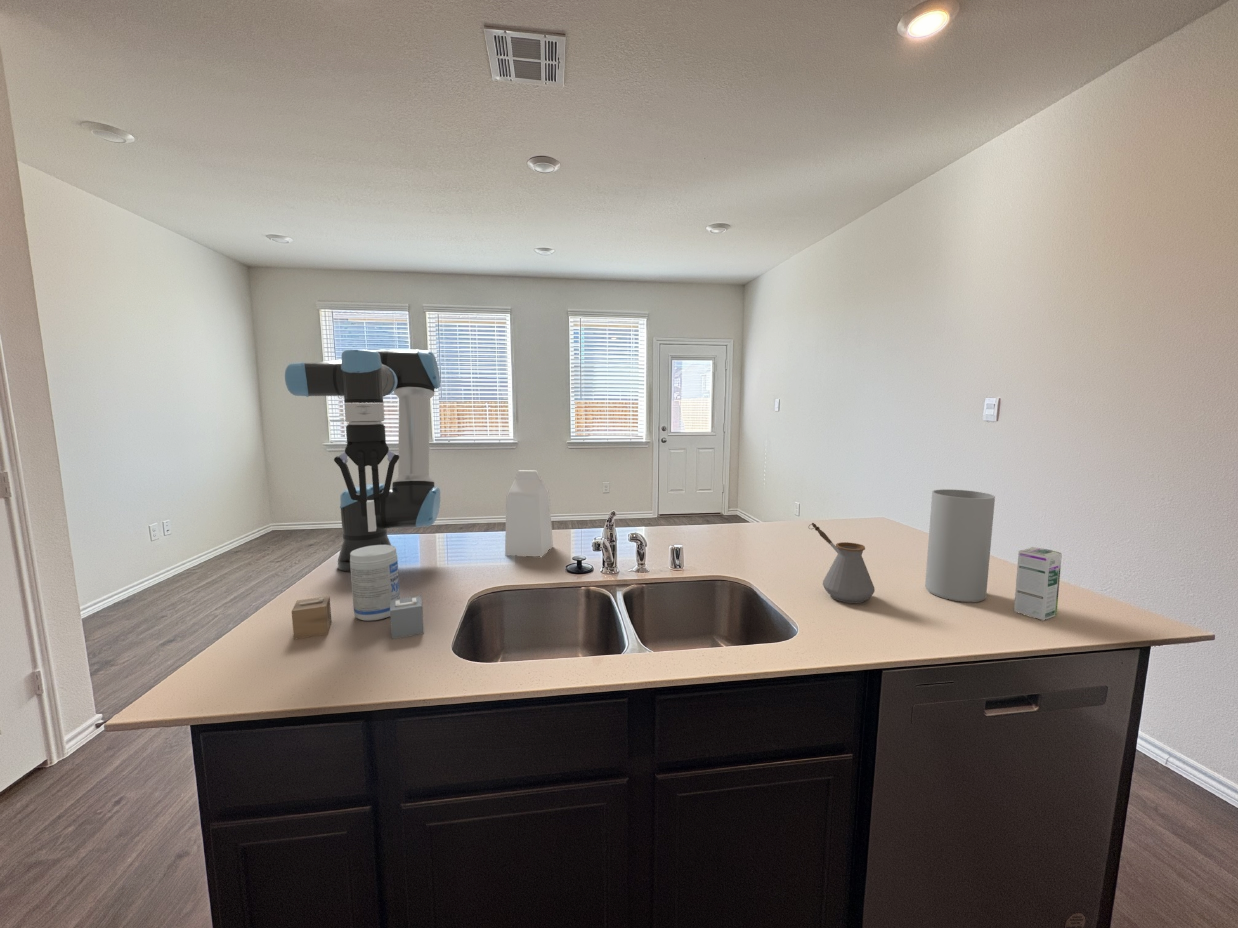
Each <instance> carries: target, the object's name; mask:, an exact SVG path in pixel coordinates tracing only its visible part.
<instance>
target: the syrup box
mask: <svg viewBox="0 0 1238 928" xmlns="http://www.w3.org/2000/svg"><path fill="white" fill-rule="evenodd" d="M1062 554H1063V553H1061V552H1059V551H1057V550H1056V551H1055V550H1052V549H1047V548H1042V547H1035V546H1031V547H1030V548H1029V547H1028V548H1025V549H1020V550H1018V556H1017V569H1016V570H1017V571H1016V578H1015V579H1016V580H1015V593H1014V596H1015V597H1014V607H1013V609H1014V610H1013V611H1014V612H1015V611H1016V612H1015V613H1017V612H1019V613H1018V614H1020V613H1022V614H1025V615H1029V616H1031V617H1030V618H1032V617H1035V618H1038V619H1042V620H1045V619H1046V620H1048V619H1049V620H1050V619H1051V618H1054V617H1056V616H1057V615H1058V603H1059V592H1060V589H1059V588H1060V579H1061V568H1062V566H1061V565H1062ZM1022 614H1021V615H1022ZM1025 615H1024V616H1025ZM1035 618H1034V619H1035ZM1038 619H1037V620H1038ZM1042 620H1041V621H1042ZM1046 620H1045V621H1046Z"/></svg>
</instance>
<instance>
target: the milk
mask: <svg viewBox="0 0 1238 928" xmlns="http://www.w3.org/2000/svg"><path fill="white" fill-rule="evenodd" d="M548 489H549V488H548V487H547V486H546V484H545V483H544V481H543V480H542V479H541V476H540V473H539V471H538V470H536V469H535V470H532V469H531V470H529V469H528V470H525V469H524V470H523V469H519V470H517V472H516V475H515V477H514V480H513V482H512V484H511V486H510V488H509V489H508V492H507V495H506V499H505V500H506V501H505V539H504V540H505V544H504V545H505V547H504V556H506V555H517V556H516V557H526V556H543V555H544V554H545V553H546V552H547V551H548V550H549V549H550V550H552V549H553V547H554V544H553V542H554V541H553V528H552V527H553V526H552V514H551V513H552V511H551V502H550V501H551V499H550V492H549V490H548ZM552 546H553V547H552ZM550 550H549V551H550ZM549 551H548V552H549ZM548 552H547V553H548ZM547 553H546V554H547ZM546 554H545V555H546ZM545 555H544V556H545ZM544 556H543V557H544Z"/></svg>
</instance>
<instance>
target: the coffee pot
mask: <svg viewBox="0 0 1238 928" xmlns="http://www.w3.org/2000/svg"><path fill="white" fill-rule="evenodd" d="M811 526H812V528H811ZM808 529H809V530H814V531H816V532H817V533H818V534H819V536H820V537H821V538H822V539H823V540H824V541H825V542H826V543H827V544H828V545H830V547H831V548H832V549H833V550H834V551H835V553H837V555H836V557H835V559H834V560H833V562H832V564H831V566H830V567H829V569H828V571H827V573H826V575H825V576H824V579H823V580H822V586H823V588H824V590H825V591H826V592H827V593H828V594H829V595H830V597H831V598H833V599H834V600H836V601H840V602H842V603H846V604H847V603H848V604H862V603H864V602H865V601H866V600H868V599H870V598H871V597H872V596H873V595H874V593H875V592H876V591H875V590H876V589H875V586H874V584H873V581H872V579H871V576H870V573H869V570H868V568H867V565H866V563H865V560H864V558H863V556H862V555H863V552H864V551H865V550H866V547H865V545H864V544H861V543H860V544H859V543H856V542H848V541H847V542H843V541H842V542H837V543H836V544H834V543H833V541H832V540H831V539H830V538H829V536H828V535H827V534H826V533H825V532H824V531H823V530H821V528H820V527H819V526H817V524H816V523H814V522H811V524H808Z"/></svg>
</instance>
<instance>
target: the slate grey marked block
mask: <svg viewBox="0 0 1238 928" xmlns="http://www.w3.org/2000/svg"><path fill="white" fill-rule="evenodd" d="M422 601H423V600H422V596H421V595H417V596H411V597H410V596H409V597H403V598H400V599H395V600H390V616H389V618H390V630H391V631H390V632H391V633H390V634H391V640H394V639H400V638H406V637H411V636H418V635H423V634H424V632H425V631H424V629H425V628H424V616H423V615H424V614H423V613H424V612H423V602H422Z"/></svg>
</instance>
